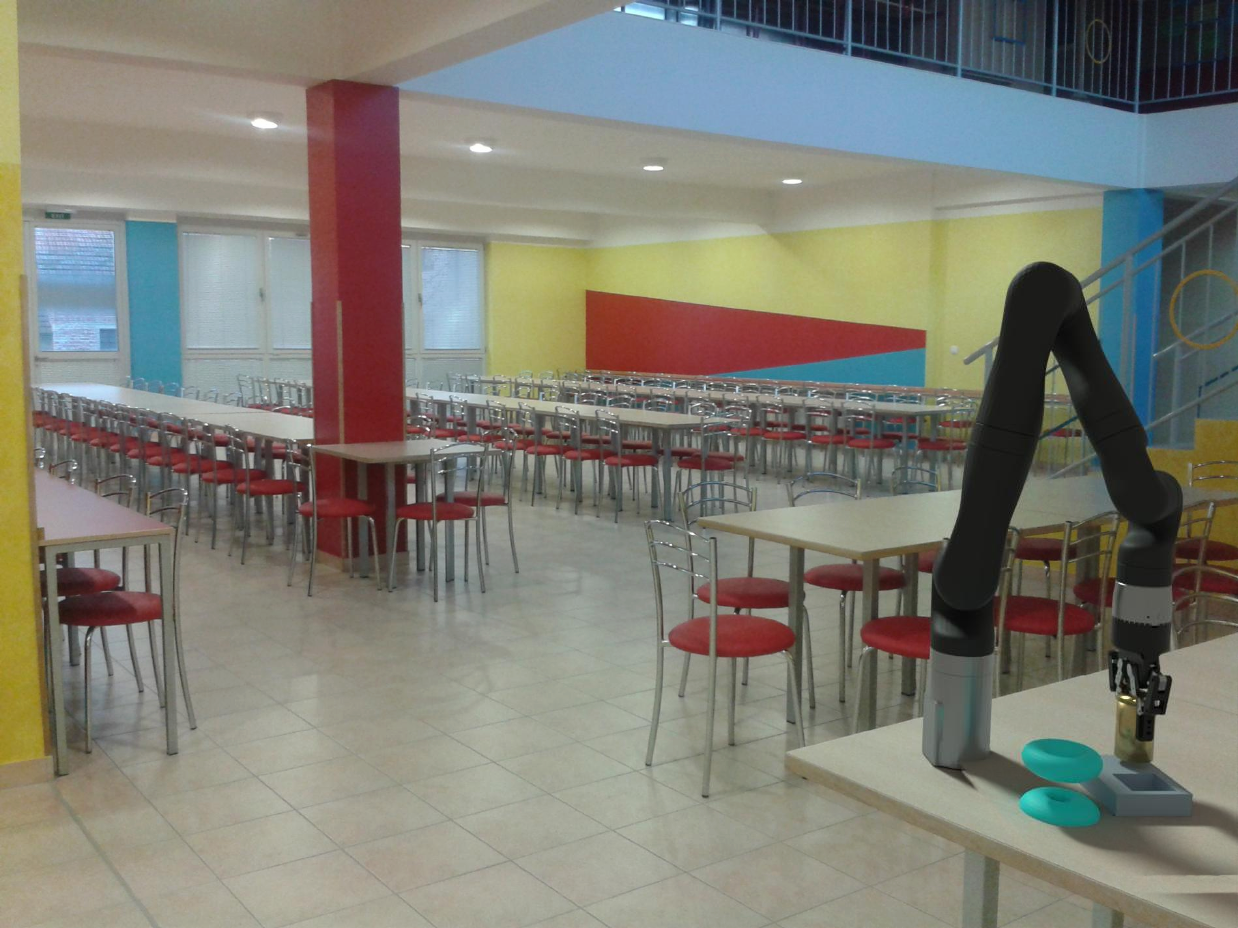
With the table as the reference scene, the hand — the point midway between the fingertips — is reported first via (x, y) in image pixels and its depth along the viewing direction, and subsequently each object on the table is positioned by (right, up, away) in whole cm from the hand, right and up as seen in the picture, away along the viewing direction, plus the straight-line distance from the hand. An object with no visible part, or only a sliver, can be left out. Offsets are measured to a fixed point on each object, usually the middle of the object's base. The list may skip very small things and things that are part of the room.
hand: (1134, 732), depth 155 cm
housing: (-2, -9, -3) cm, 10 cm away
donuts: (-14, -10, -8) cm, 19 cm away
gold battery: (0, -3, 0) cm, 3 cm away
